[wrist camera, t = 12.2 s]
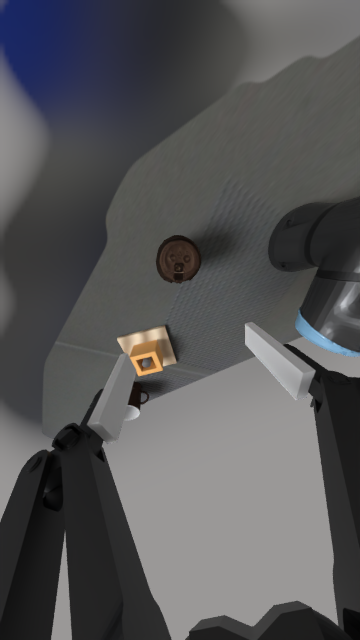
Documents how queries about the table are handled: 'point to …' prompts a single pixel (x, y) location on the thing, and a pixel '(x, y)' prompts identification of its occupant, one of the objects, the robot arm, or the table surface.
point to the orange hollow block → (144, 352)
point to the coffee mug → (134, 402)
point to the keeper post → (146, 336)
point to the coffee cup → (178, 259)
